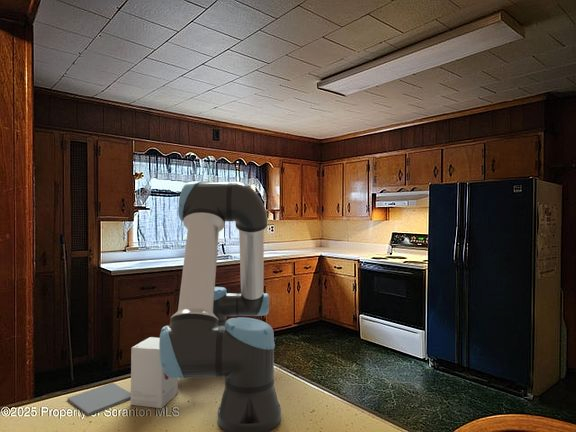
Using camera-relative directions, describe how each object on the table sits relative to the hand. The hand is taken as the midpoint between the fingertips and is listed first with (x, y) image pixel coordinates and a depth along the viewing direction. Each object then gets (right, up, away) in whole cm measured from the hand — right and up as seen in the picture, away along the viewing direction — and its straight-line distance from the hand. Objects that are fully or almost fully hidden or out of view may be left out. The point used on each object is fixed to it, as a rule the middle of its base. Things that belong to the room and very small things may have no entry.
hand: (156, 368), depth 104 cm
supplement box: (0, -8, -1) cm, 8 cm away
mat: (-14, -8, -1) cm, 16 cm away
